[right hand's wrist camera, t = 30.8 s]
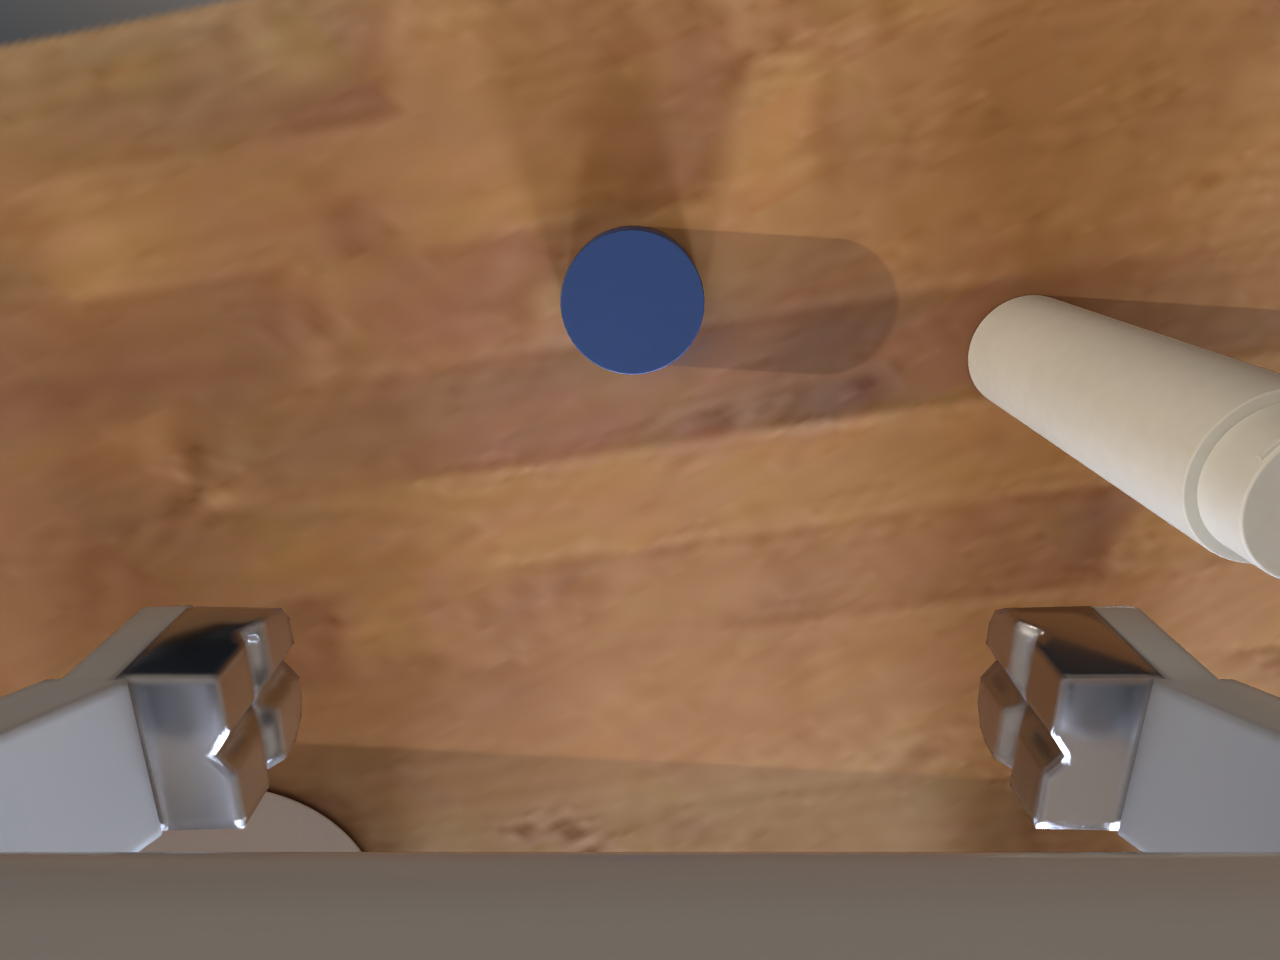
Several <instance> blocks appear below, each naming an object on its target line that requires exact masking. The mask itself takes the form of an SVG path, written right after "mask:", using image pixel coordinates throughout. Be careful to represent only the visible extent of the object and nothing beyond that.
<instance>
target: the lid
mask: <svg viewBox="0 0 1280 960" xmlns="http://www.w3.org/2000/svg"><path fill="white" fill-rule="evenodd" d="M703 312H704V291H703V287H702V282H701V279H700V276H699V274H698V272H697V270H696V268H695V266H694V264H693V262H692V260H691V258H690V257H689V255H688V254H687V252H686V251H685V250H684V249H683V248H682V247H681V246H680V245H679V244H678V243H677V242H676V241H675V240H673V239H672V238H670V237H669V236H667V235H666V234H664V233H662V232H659V231H657V230H654V229H651V228H647V227H641V226H624V227H618V228H614V229H611V230H608V231H606V232H603V233H601V234H600V235H598V236H596V237H595V238H593V239H592V240H591V241H589V242H588V243H587V244H586V245H585V246H584V247H583V248H582V249H581V250H580V252H579V253H578V254H577V256H576V257H575V259H574V260H573V262H572V263H571V265H570V267H569V269H568V271H567V273H566V276H565V278H564V282H563V285H562V291H561V313H562V318H563V322H564V325H565V328H566V330H567V333H568V335H569V336H570V338H571V340H572V342H573V343H574V344H575V346H576V347H577V348H578V350H579V351H580V352H581V353H582V354H583V355H584V356H585V357H587V358H588V359H589V360H590V361H592V362H593V363H595V364H597V365H598V366H600V367H602V368H605V369H607V370H610V371H613V372H617V373H623V374H643V373H648V372H652V371H655V370H658V369H661V368H663V367H665V366H667V365H669V364H670V363H672V362H673V361H675V360H676V359H677V358H679V357H680V356H681V355H682V354H683V353H684V352H685V351H686V350H687V348H688V347H689V346H690V345H691V343H692V342H693V340H694V338H695V337H696V335H697V332H698V330H699V328H700V325H701V322H702V318H703Z"/></svg>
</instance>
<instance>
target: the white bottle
mask: <svg viewBox="0 0 1280 960" xmlns="http://www.w3.org/2000/svg"><path fill="white" fill-rule="evenodd" d="M968 367H969V372H970V375H971V378H972V381H973V383H974V384H975V386H976V388H977V389H978V390H979V392H980V393H981V394H982V395H983V396H985V397H986V398H987V399H989V400H990V401H991V402H993V403H994V404H996V405H997V406H999V407H1000V408H1002V409H1003V410H1005V411H1006V412H1008V413H1009V414H1010V415H1012V416H1013V417H1015V418H1016V419H1018V420H1019V421H1021V422H1022V423H1024V424H1025V425H1027V426H1028V427H1029V428H1031V429H1032V430H1034V431H1035V432H1037V433H1038V434H1040V435H1041V436H1043V437H1044V438H1046V439H1047V440H1048V441H1050V442H1051V443H1053V444H1054V445H1056V446H1057V447H1059V448H1060V449H1062V450H1063V451H1065V452H1066V453H1067V454H1069V455H1070V456H1072V457H1073V458H1075V459H1076V460H1078V461H1079V462H1081V463H1082V464H1084V465H1085V466H1086V467H1088V468H1089V469H1091V470H1092V471H1094V472H1095V473H1097V474H1098V475H1100V476H1101V477H1103V478H1104V479H1105V480H1107V481H1108V482H1110V483H1111V484H1113V485H1114V486H1116V487H1117V488H1119V489H1120V490H1122V491H1123V492H1124V493H1126V494H1127V495H1129V496H1130V497H1132V498H1133V499H1135V500H1136V501H1138V502H1139V503H1141V504H1142V505H1143V506H1145V507H1146V508H1148V509H1149V510H1151V511H1152V512H1154V513H1155V514H1157V515H1158V516H1159V517H1161V518H1162V519H1164V520H1165V521H1167V522H1168V523H1170V524H1171V525H1173V526H1174V527H1176V528H1177V529H1178V530H1180V531H1181V532H1183V533H1184V534H1186V535H1187V536H1189V537H1190V538H1192V539H1193V540H1195V541H1196V542H1197V543H1199V544H1200V545H1202V546H1203V547H1205V548H1206V549H1208V550H1209V551H1211V552H1212V553H1214V554H1216V555H1218V556H1220V557H1223V558H1225V559H1228V560H1231V561H1236V562H1241V563H1252V564H1253V565H1255V566H1256V567H1258V568H1260V569H1261V570H1263V571H1264V572H1266V573H1268V574H1269V575H1271V576H1273V577H1276V578H1279V579H1280V374H1279V373H1276V372H1273V371H1270V370H1267V369H1264V368H1261V367H1258V366H1255V365H1252V364H1249V363H1246V362H1243V361H1240V360H1237V359H1234V358H1231V357H1228V356H1225V355H1222V354H1219V353H1216V352H1213V351H1210V350H1207V349H1204V348H1201V347H1198V346H1195V345H1192V344H1189V343H1186V342H1183V341H1180V340H1177V339H1174V338H1171V337H1168V336H1165V335H1162V334H1159V333H1156V332H1153V331H1150V330H1147V329H1144V328H1141V327H1138V326H1135V325H1132V324H1129V323H1126V322H1123V321H1120V320H1117V319H1114V318H1111V317H1108V316H1105V315H1102V314H1099V313H1096V312H1093V311H1090V310H1087V309H1084V308H1081V307H1078V306H1075V305H1072V304H1069V303H1066V302H1063V301H1060V300H1057V299H1054V298H1051V297H1047V296H1042V295H1027V296H1021V297H1017V298H1014V299H1011V300H1009V301H1007V302H1005V303H1003V304H1001V305H1000V306H998V307H997V308H995V309H994V310H993V311H991V312H990V313H989V314H988V315H987V316H986V317H985V318H984V320H983V321H982V322H981V323H980V325H979V326H978V328H977V329H976V331H975V333H974V335H973V338H972V341H971V343H970V347H969V353H968Z"/></svg>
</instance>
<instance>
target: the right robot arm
mask: <svg viewBox="0 0 1280 960" xmlns="http://www.w3.org/2000/svg"><path fill="white" fill-rule="evenodd" d="M293 644H294V641H293V636H292V630H291V625H290V620H289V617H288V616H287V614H286V613H285V612H284V611H283V610H282V608H251V607H193V606H191V605H187V606H157V607H143V608H142V609H140V610H139V611H138V612H137V613H136V614H135V615H134V616H133V617H131V618H130V619H129V620H128V621H127V622H126V623H125V624H124V625H122V626H121V627H120V628H119V629H118V630H117V631H116V632H115V633H113V634H112V635H111V636H110V637H109V638H108V639H107V640H105V641H104V642H103V643H102V644H101V645H100V646H99V647H98V648H96V649H95V650H94V651H93V652H92V653H91V654H90V655H89V656H87V657H86V658H85V659H84V660H83V661H82V662H81V663H79V664H78V665H77V666H76V667H75V668H74V669H73V670H72V671H70V672H69V673H68V674H67V675H66V676H65V677H64V678H63V679H49V680H44V681H42V682H39V683H37V684H34V685H32V686H29V687H26V688H24V689H21V690H19V691H16V692H14V693H11V694H9V695H6V696H3V697H1V698H0V960H1280V698H1279V697H1276V696H1274V695H1271V694H1269V693H1266V692H1264V691H1261V690H1259V689H1256V688H1254V687H1251V686H1248V685H1246V684H1243V683H1241V682H1238V681H1236V680H1232V679H1218V678H1216V677H1215V676H1214V675H1213V674H1212V673H1211V672H1210V671H1208V670H1207V669H1206V668H1205V667H1204V666H1203V665H1202V664H1201V663H1199V662H1198V661H1197V660H1196V659H1195V658H1194V657H1193V656H1192V655H1190V654H1189V653H1188V652H1187V651H1186V650H1185V649H1184V648H1183V647H1181V646H1180V645H1179V644H1178V643H1177V642H1176V641H1175V640H1174V639H1172V638H1171V637H1170V636H1169V635H1168V634H1167V633H1166V632H1165V631H1163V630H1162V629H1161V628H1160V627H1159V626H1158V625H1157V624H1156V623H1154V622H1153V621H1152V620H1151V619H1150V618H1149V617H1148V616H1147V615H1145V614H1144V613H1143V612H1142V611H1141V610H1140V609H1139V608H1135V607H1131V606H1128V605H1122V606H1100V607H1091V606H1073V607H1031V608H1004V609H999V610H995V612H994V614H993V616H992V619H991V621H990V623H989V629H988V634H987V640H986V644H987V645H988V647H989V649H990V650H991V652H992V653H993V655H994V656H995V658H996V659H997V660H996V661H995V663H994V664H993V665H992V666H991V667H990V668H989V669H988V670H987V671H986V672H985V673H984V674H983V675H982V676H981V679H980V688H979V696H978V710H979V720H980V728H981V731H982V734H983V737H984V740H985V743H986V745H987V747H988V748H989V750H990V752H991V754H992V756H993V757H994V759H996V760H998V761H999V762H1001V763H1002V764H1004V765H1006V766H1007V767H1009V768H1011V769H1012V770H1013V771H1012V777H1011V783H1010V786H1011V788H1012V789H1013V791H1014V793H1015V794H1016V796H1017V798H1018V799H1019V801H1020V803H1021V804H1022V806H1023V808H1024V809H1025V811H1026V813H1027V814H1028V816H1029V818H1030V819H1031V821H1032V823H1033V824H1034V826H1035V828H1042V829H1079V830H1116V831H1118V835H1120V836H1121V837H1122V838H1124V839H1125V840H1126V841H1128V842H1129V843H1130V844H1132V845H1133V846H1135V847H1136V848H1137V849H1139V850H1140V851H1141V852H361V850H360V849H359V847H358V846H357V845H356V844H355V843H354V841H353V840H352V839H351V838H350V837H349V836H348V835H347V834H346V833H345V832H344V831H343V830H342V829H341V828H339V827H338V826H337V825H336V824H334V823H333V822H332V821H330V820H329V819H328V818H326V817H325V816H323V815H322V814H320V813H318V812H317V811H315V810H313V809H311V808H310V807H308V806H306V805H304V804H301V803H299V802H297V801H295V800H292V799H290V798H287V797H284V796H281V795H278V794H274V793H271V792H266V791H267V789H268V788H269V786H270V783H269V777H268V771H267V770H268V769H269V768H271V767H273V766H274V765H276V764H278V763H279V762H281V761H282V760H284V759H286V757H287V755H288V754H289V752H290V750H291V748H292V746H293V745H294V743H295V741H296V737H297V733H298V729H299V725H300V721H301V715H302V693H301V686H300V679H299V676H298V675H297V674H296V673H295V672H294V671H293V670H292V669H291V668H290V667H289V666H288V665H287V664H286V663H285V661H284V660H283V659H284V658H285V656H286V655H287V653H288V652H289V650H290V649H291V647H292V645H293Z"/></svg>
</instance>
